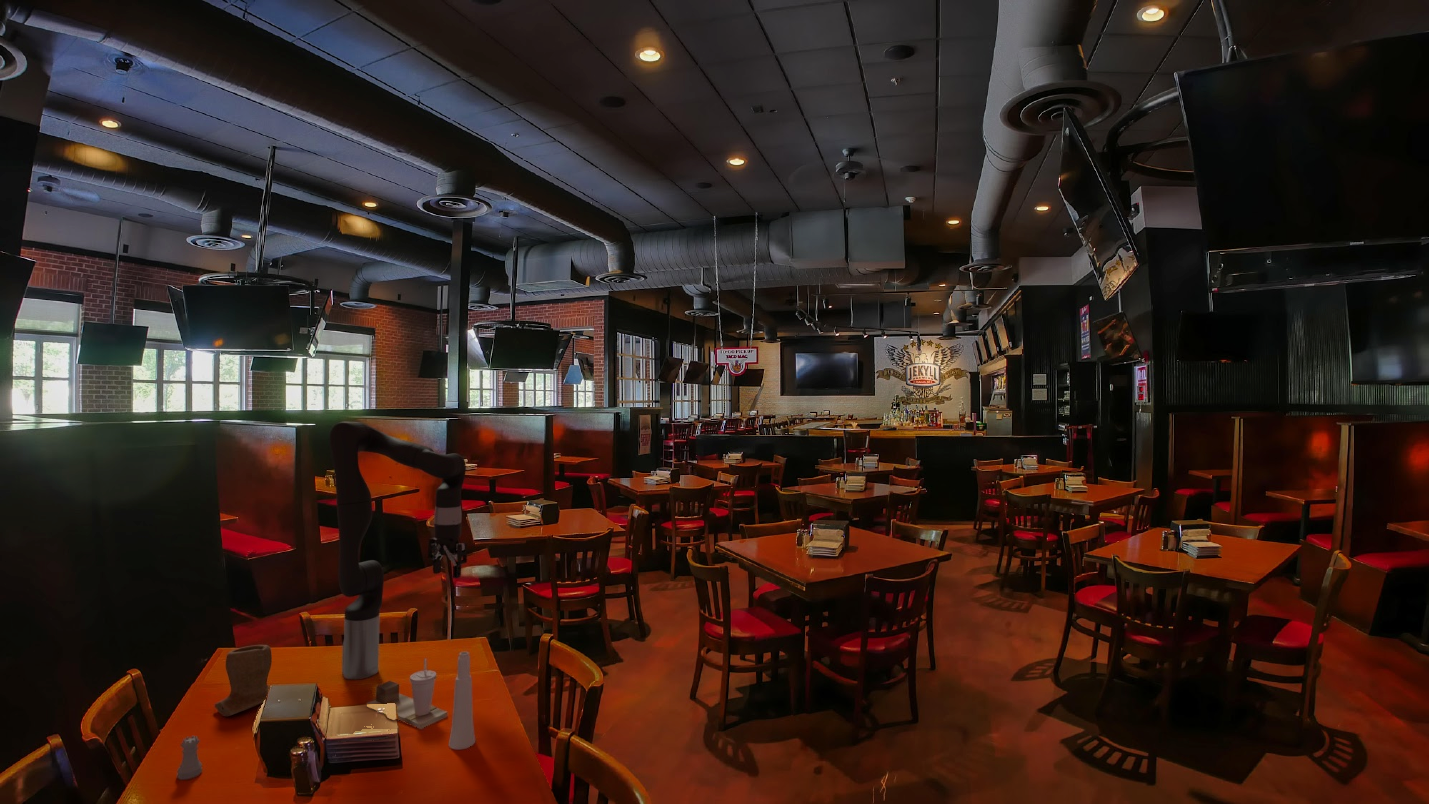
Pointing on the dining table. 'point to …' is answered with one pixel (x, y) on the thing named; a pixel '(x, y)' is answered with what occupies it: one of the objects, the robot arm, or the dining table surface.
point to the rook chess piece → (189, 759)
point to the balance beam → (405, 706)
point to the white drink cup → (422, 690)
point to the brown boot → (246, 678)
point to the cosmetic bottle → (462, 707)
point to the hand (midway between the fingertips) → (446, 575)
